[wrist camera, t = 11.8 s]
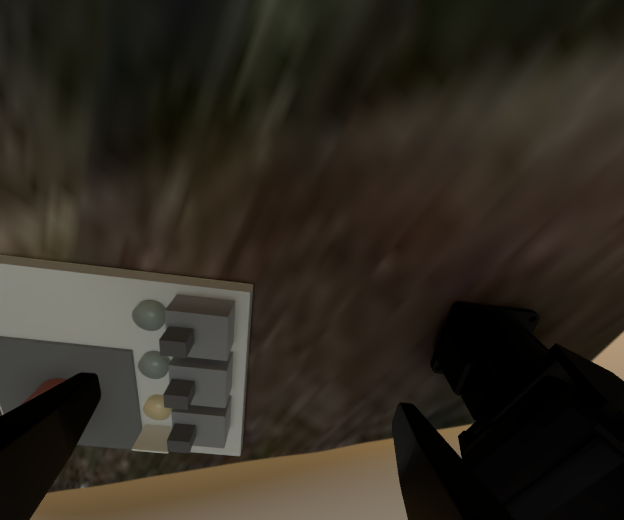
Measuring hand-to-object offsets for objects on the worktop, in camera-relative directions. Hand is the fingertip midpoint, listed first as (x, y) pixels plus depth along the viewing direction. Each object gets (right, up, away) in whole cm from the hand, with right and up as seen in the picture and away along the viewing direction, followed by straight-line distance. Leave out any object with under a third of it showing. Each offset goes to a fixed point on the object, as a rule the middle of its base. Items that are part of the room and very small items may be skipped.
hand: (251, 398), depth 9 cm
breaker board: (-13, -4, +16) cm, 21 cm away
